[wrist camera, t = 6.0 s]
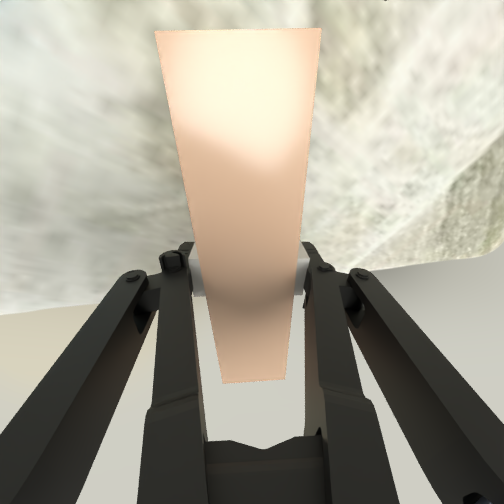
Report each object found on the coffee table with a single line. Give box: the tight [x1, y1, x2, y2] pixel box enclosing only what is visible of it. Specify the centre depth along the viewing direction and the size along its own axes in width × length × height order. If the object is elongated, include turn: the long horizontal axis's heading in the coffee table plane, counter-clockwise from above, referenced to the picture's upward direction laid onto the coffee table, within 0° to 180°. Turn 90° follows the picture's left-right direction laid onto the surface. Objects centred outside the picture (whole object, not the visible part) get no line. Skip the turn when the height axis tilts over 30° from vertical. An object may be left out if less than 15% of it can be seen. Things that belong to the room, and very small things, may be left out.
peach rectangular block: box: [154, 28, 322, 384], centre depth 15 cm, size 5×20×8 cm, turn 2°
